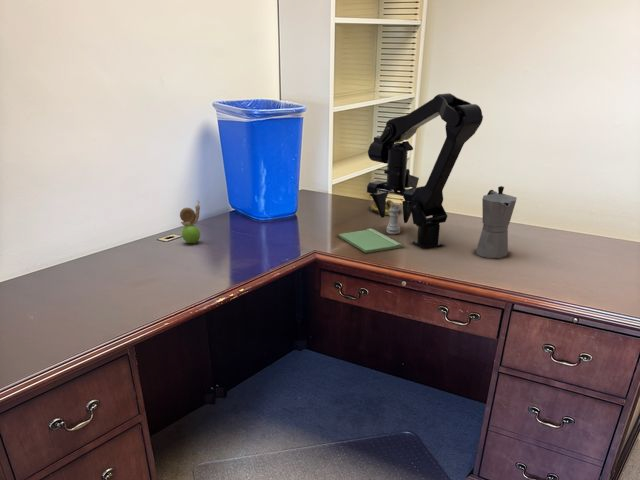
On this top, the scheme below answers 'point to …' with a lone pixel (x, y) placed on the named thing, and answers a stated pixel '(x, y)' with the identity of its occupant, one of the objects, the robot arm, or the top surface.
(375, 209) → the olive lumpy piece
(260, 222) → the top surface
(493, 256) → the coffeepot
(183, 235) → the snail figurine
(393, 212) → the rook chess piece
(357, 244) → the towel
